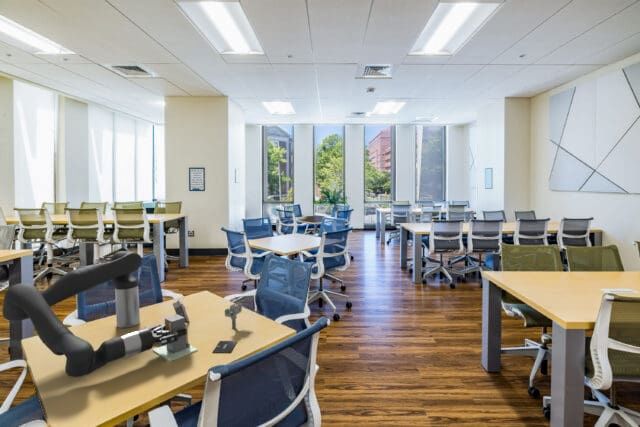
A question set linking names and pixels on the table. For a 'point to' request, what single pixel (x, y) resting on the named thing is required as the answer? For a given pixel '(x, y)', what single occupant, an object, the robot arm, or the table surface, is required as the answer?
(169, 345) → the plug block
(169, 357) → the board
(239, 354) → the table surface
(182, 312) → the electrical switch
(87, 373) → the robot arm
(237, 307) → the mechanical component
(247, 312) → the table surface
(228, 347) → the solid state drive
